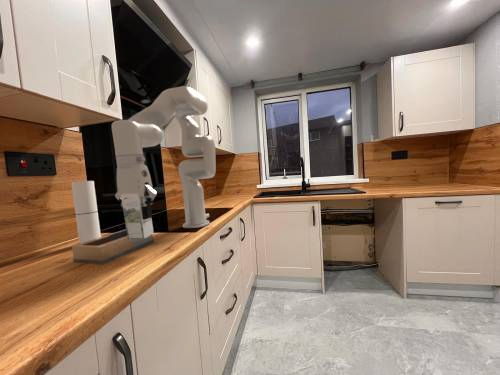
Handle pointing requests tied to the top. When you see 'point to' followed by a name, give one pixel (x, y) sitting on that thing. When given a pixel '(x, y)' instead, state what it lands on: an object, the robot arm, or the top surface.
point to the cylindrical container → (86, 210)
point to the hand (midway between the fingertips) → (138, 218)
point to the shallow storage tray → (107, 248)
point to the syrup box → (135, 217)
